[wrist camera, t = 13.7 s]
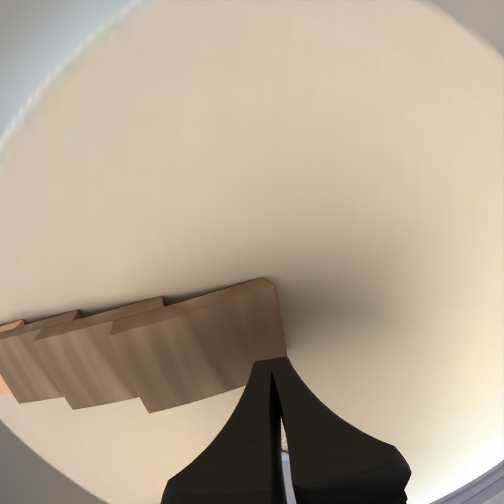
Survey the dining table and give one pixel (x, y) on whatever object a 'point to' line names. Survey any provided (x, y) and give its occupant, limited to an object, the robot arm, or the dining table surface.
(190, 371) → the tile
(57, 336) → the tile
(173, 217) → the dining table surface
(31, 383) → the tile
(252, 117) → the dining table surface
